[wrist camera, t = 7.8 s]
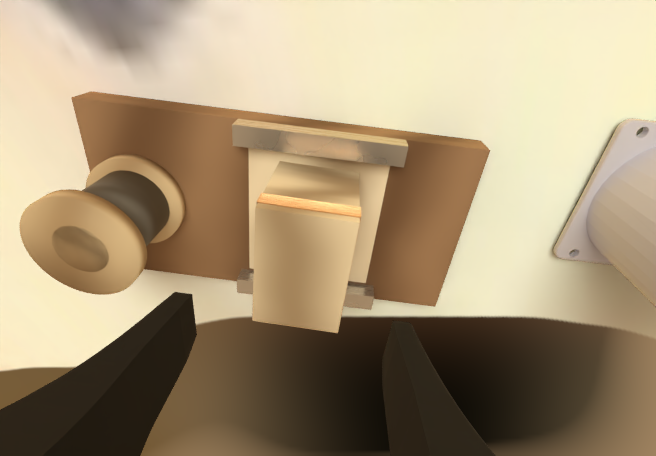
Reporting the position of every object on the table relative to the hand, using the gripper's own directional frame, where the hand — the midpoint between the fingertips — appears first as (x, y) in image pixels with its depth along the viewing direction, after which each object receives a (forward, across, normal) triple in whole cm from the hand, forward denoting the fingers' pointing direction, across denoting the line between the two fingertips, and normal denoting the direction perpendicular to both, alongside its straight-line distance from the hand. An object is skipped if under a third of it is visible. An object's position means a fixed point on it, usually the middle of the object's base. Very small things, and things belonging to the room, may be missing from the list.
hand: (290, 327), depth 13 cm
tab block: (+8, 0, 0) cm, 8 cm away
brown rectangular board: (+9, +2, 0) cm, 10 cm away
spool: (+8, +10, 0) cm, 12 cm away
